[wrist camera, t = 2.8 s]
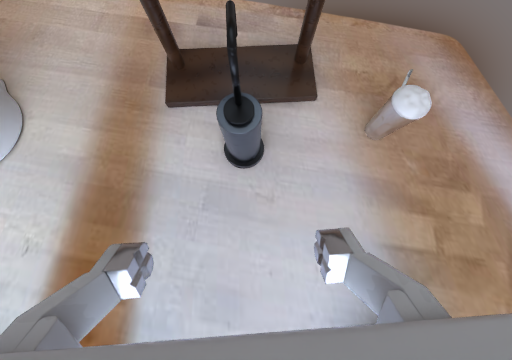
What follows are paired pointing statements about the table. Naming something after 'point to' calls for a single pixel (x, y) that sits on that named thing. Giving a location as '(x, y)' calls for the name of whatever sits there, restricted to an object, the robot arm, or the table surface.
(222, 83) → the rack
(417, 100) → the milkshake
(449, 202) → the table surface
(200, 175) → the table surface
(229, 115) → the dark cylindrical piece
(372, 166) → the table surface
